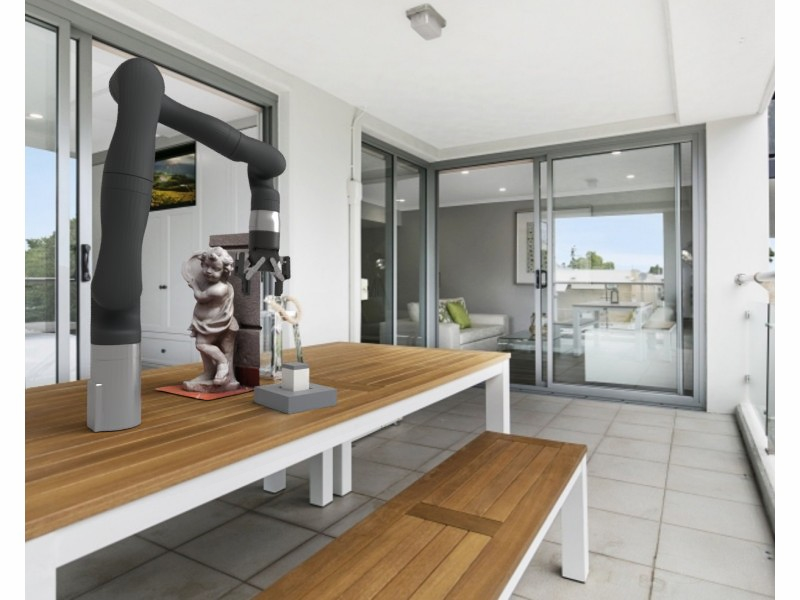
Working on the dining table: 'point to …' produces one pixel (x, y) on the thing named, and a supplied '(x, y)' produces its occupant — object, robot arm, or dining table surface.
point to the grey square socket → (295, 398)
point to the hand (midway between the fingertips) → (262, 295)
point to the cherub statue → (222, 321)
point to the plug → (295, 376)
